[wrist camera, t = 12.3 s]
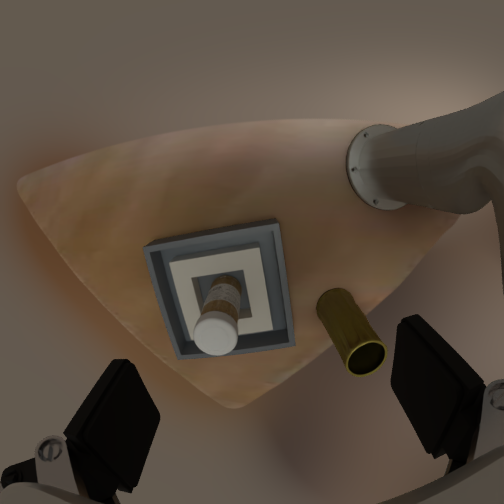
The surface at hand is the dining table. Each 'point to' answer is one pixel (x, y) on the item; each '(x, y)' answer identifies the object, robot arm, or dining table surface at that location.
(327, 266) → the dining table surface
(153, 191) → the dining table surface
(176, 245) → the open box
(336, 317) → the vase
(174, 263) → the block
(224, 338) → the sprinkles bottle
